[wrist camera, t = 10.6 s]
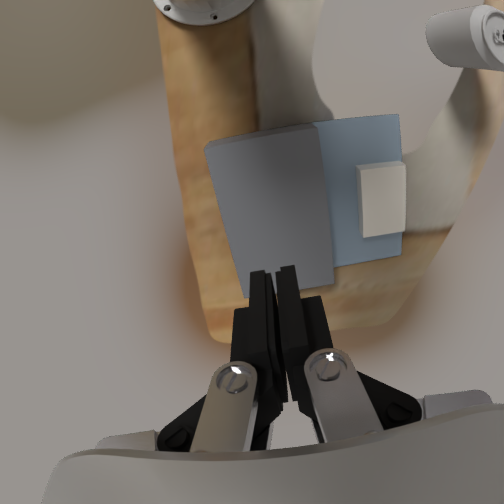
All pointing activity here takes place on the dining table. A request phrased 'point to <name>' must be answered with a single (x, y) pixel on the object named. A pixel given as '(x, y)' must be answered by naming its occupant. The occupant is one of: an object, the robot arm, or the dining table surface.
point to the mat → (345, 183)
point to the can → (468, 37)
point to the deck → (274, 203)
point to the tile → (381, 198)
